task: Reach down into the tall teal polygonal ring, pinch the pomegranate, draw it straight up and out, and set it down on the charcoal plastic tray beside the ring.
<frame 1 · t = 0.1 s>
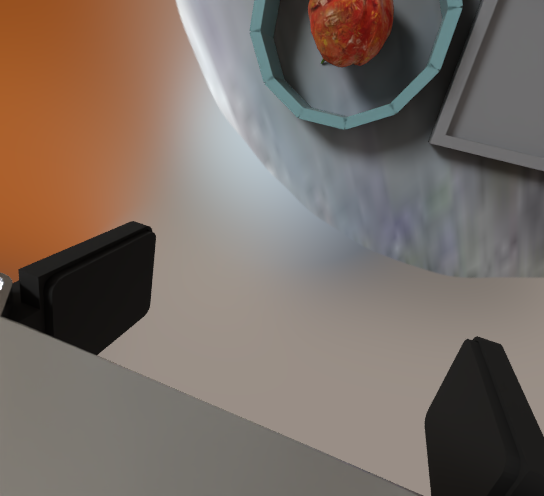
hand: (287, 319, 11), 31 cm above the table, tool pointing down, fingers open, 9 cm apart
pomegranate: (352, 29, 35), on the table
teal polygonal ring: (352, 29, 35), on the table
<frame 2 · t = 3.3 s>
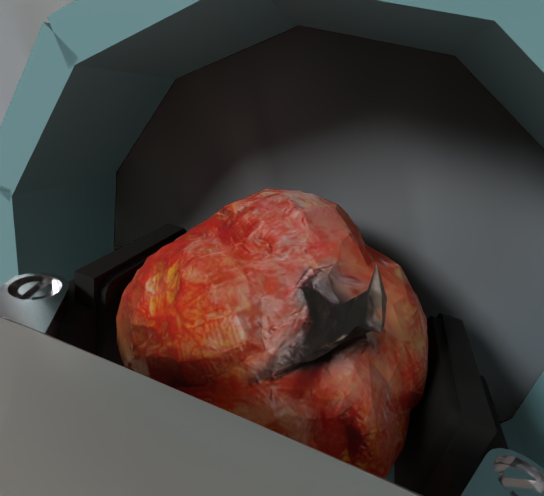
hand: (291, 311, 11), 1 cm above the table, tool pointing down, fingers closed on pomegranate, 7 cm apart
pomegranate: (302, 286, 13), on the table, touching gripper
teal polygonal ring: (303, 289, 12), on the table
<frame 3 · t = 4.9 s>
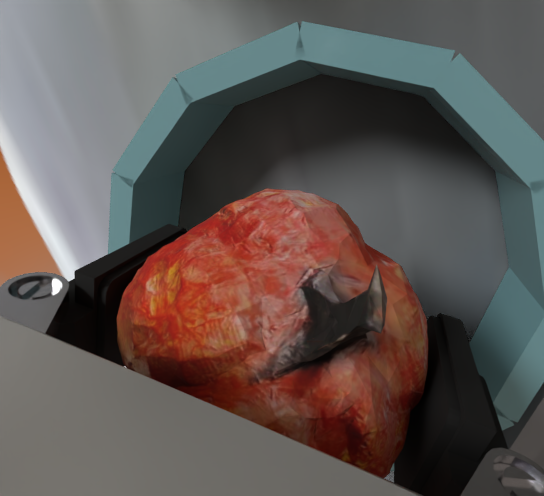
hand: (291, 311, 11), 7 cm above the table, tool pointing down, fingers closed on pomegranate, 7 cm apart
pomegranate: (302, 285, 13), point 5 cm above the table, touching gripper
teal polygonal ring: (321, 254, 17), on the table
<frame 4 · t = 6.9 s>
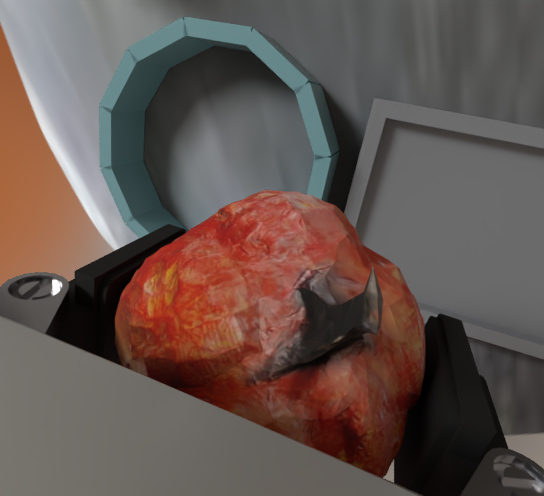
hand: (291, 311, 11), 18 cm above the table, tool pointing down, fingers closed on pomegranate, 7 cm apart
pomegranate: (301, 286, 13), point 16 cm above the table, touching gripper
teal polygonal ring: (227, 156, 29), on the table
tray: (493, 234, 25), on the table
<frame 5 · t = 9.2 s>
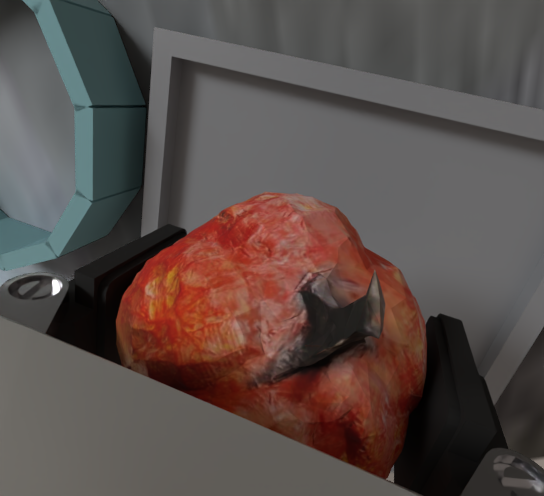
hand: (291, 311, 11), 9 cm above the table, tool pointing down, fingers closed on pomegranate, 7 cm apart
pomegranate: (302, 288, 13), point 7 cm above the table, touching gripper
teal polygonal ring: (23, 113, 23), on the table
tray: (334, 222, 19), on the table
when the fingers open (4 cm above the table, at t = 10.8 s): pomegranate drops 1 cm, resting on tray.
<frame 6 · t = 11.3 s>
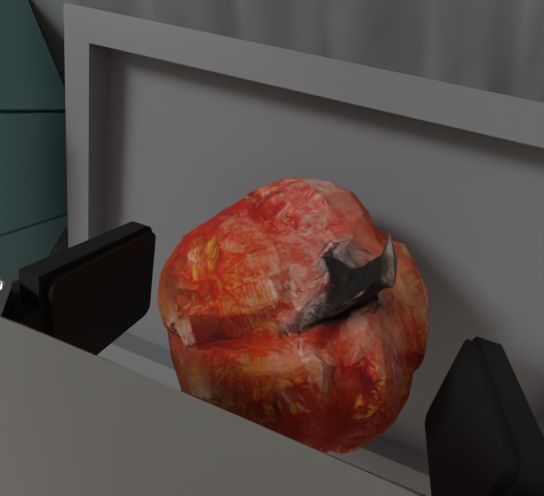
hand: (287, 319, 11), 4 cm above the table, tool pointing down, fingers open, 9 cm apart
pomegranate: (314, 269, 14), point 1 cm above the table, touching tray
tray: (315, 264, 15), on the table
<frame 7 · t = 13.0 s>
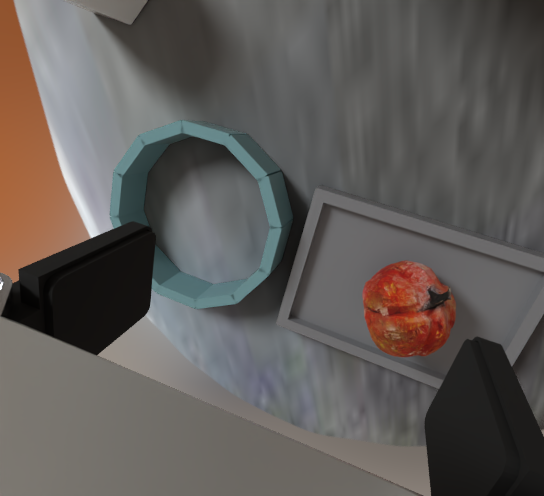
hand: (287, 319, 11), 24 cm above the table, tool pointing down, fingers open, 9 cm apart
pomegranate: (403, 293, 33), point 1 cm above the table, touching tray
teal polygonal ring: (209, 213, 37), on the table
tray: (402, 290, 34), on the table
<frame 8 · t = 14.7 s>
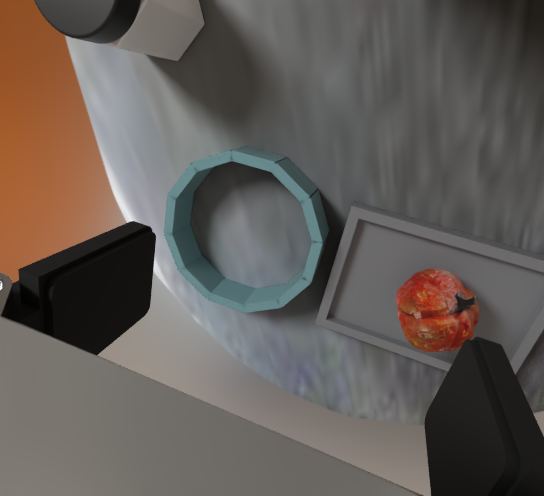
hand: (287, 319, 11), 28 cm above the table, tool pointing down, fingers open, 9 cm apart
jar: (166, 13, 37), on the table
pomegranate: (429, 294, 37), point 1 cm above the table, touching tray
teal polygonal ring: (251, 226, 42), on the table
tray: (428, 292, 38), on the table
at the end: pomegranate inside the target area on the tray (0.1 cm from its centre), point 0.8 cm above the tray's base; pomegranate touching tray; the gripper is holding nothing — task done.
